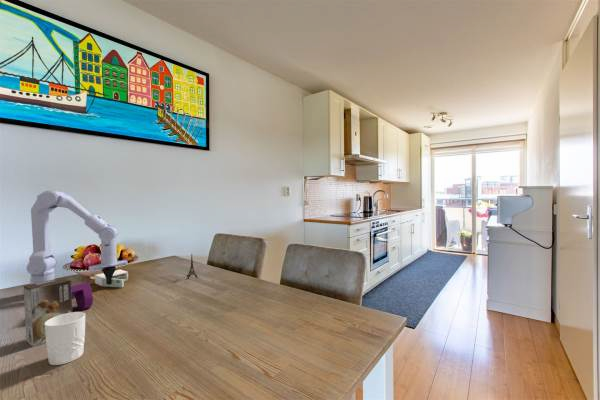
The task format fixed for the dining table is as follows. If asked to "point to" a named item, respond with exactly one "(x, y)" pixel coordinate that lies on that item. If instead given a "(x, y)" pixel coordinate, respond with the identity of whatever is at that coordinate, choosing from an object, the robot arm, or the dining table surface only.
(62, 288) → the coffee box
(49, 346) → the white cup
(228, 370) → the dining table surface
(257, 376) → the dining table surface
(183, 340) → the dining table surface
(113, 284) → the door
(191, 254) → the eiffel tower figurine
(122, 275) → the cabinet
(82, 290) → the mounting bracket
